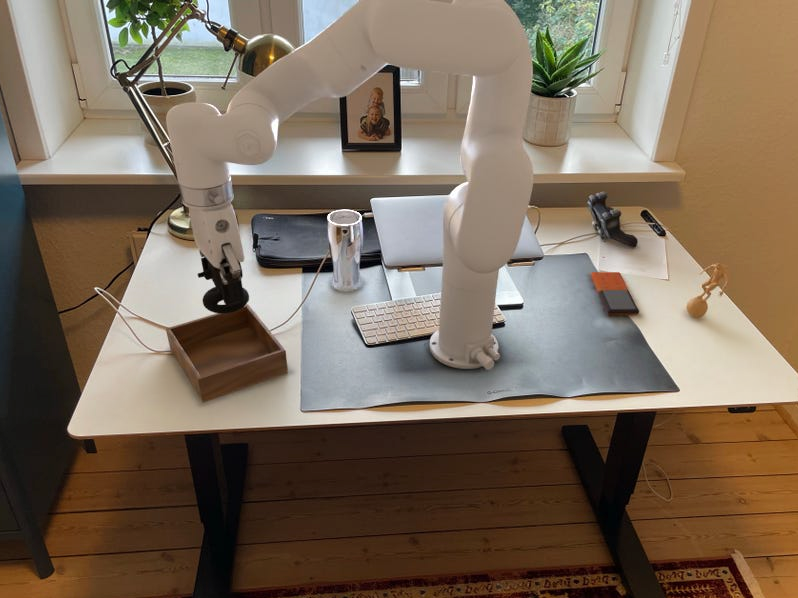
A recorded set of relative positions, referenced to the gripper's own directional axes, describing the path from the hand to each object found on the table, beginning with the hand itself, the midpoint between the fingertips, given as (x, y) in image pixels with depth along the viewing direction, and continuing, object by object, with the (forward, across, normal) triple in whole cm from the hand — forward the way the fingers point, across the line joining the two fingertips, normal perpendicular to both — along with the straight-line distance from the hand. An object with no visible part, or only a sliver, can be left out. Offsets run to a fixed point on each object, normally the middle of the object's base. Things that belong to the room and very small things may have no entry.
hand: (224, 288), depth 122 cm
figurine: (+17, -33, -84) cm, 91 cm away
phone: (+17, -19, -74) cm, 78 cm away
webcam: (+3, 0, 0) cm, 3 cm away
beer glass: (+16, +12, -29) cm, 35 cm away
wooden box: (+15, 0, +1) cm, 15 cm away
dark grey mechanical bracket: (+17, +1, -92) cm, 93 cm away
